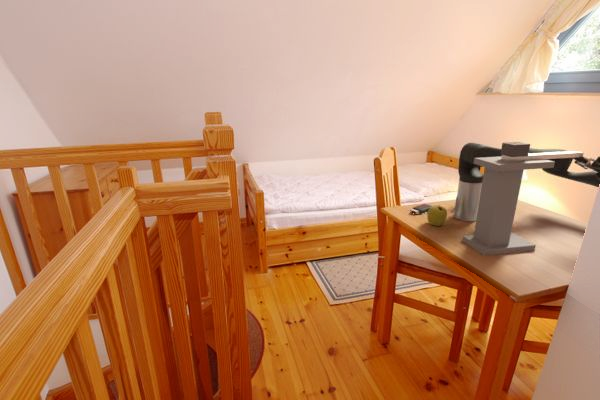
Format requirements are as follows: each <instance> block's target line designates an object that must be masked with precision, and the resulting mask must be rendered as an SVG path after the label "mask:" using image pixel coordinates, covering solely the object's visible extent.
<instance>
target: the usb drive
mask: <svg viewBox="0 0 600 400" xmlns="http://www.w3.org/2000/svg"><path fill="white" fill-rule="evenodd" d="M432 206H433V205H432V204H431V205H430V204H427V203H423V204H419V205H416V206H413V207H412V209H410V212H411V213H414V214H418V215H423V214H422V213H424V214H426V213H425V212H427V213H428V210H429V209H430V208H431V207H432ZM410 212H409V213H410ZM411 213H410V214H411ZM414 214H413V215H414Z"/></svg>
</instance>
